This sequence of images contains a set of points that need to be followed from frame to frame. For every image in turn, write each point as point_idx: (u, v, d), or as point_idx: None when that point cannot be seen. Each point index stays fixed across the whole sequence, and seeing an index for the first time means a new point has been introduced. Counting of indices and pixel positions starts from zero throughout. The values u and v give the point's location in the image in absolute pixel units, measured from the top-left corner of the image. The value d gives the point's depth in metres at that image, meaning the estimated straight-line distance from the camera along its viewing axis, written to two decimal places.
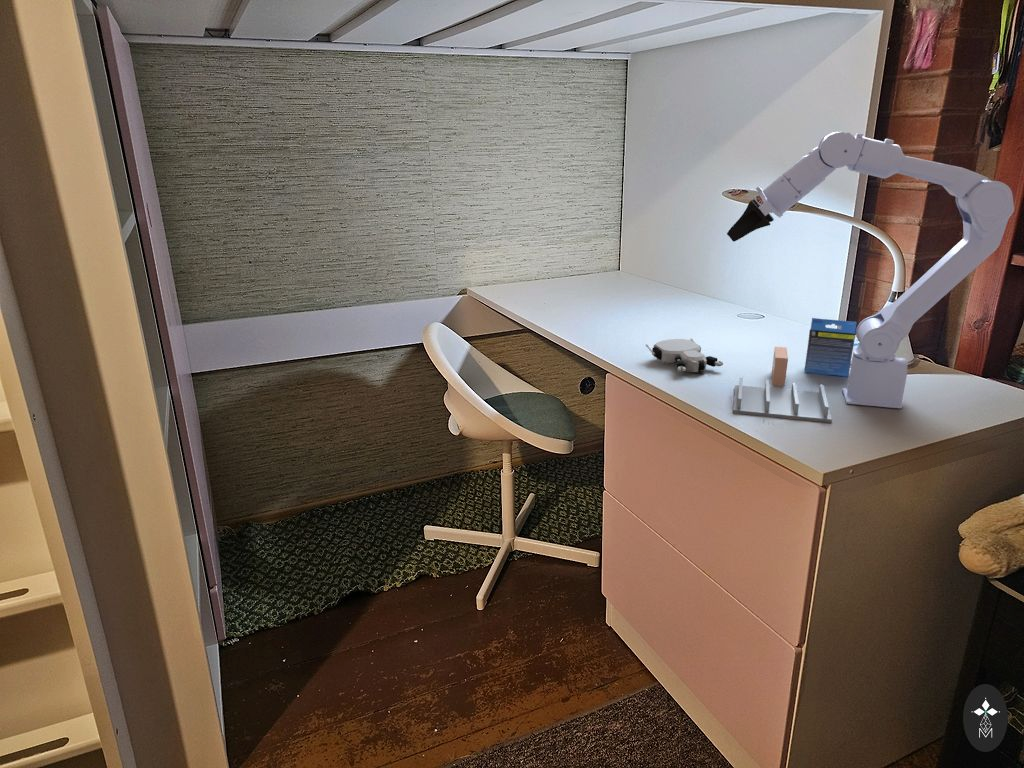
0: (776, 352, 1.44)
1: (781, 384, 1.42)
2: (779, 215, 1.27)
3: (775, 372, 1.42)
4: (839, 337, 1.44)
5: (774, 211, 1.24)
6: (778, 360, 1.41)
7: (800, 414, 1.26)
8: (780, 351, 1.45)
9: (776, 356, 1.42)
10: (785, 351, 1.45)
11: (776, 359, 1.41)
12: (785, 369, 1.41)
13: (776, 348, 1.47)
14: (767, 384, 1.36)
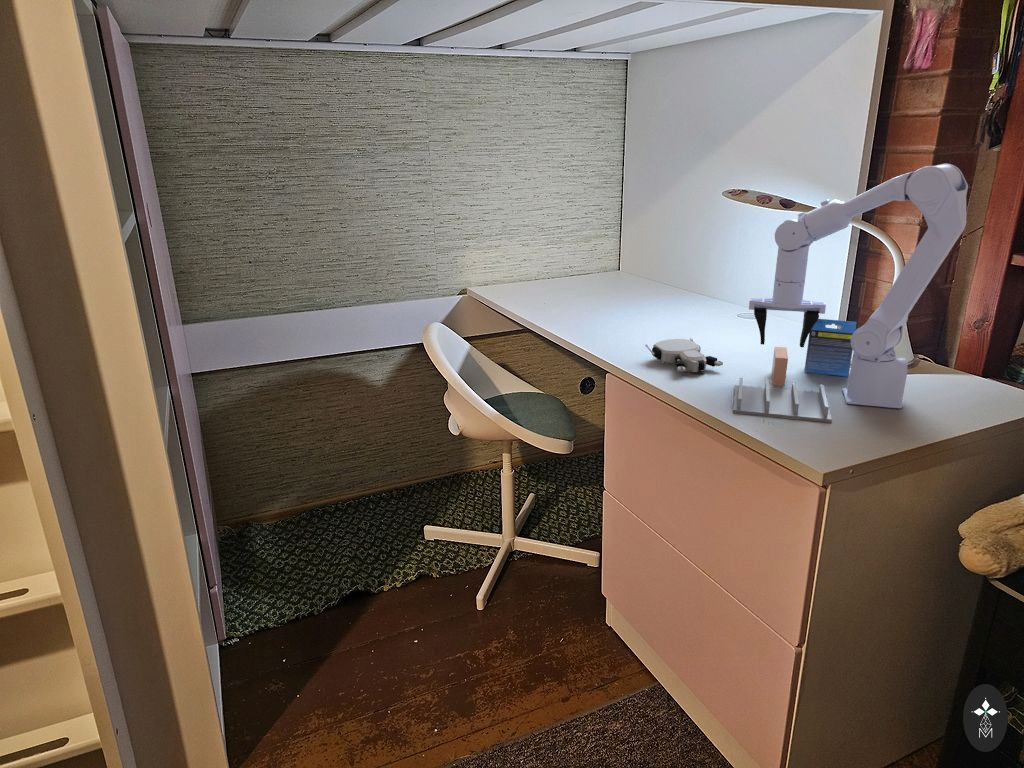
0: (776, 352, 1.44)
1: (781, 384, 1.42)
2: (778, 306, 1.39)
3: (775, 372, 1.42)
4: (839, 337, 1.44)
5: (761, 303, 1.41)
6: (778, 360, 1.41)
7: (800, 414, 1.26)
8: (780, 351, 1.45)
9: (776, 356, 1.42)
10: (785, 351, 1.45)
11: (776, 359, 1.41)
12: (785, 369, 1.41)
13: (776, 348, 1.47)
14: (767, 384, 1.36)
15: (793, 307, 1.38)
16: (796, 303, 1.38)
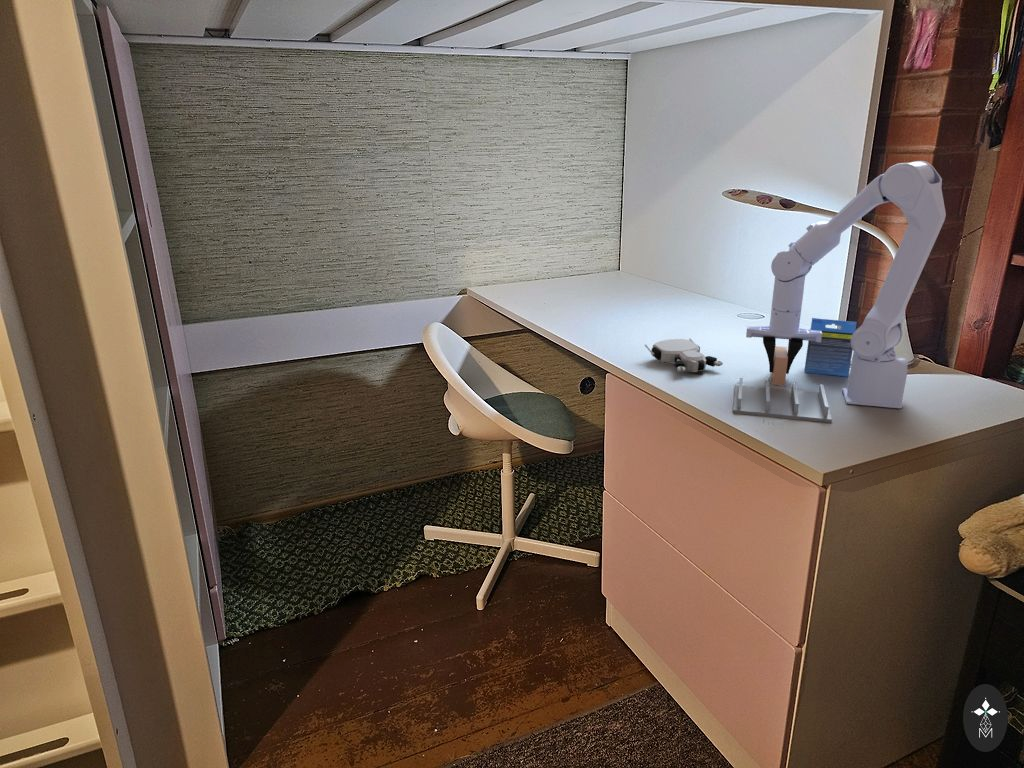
0: (776, 352, 1.44)
1: (781, 384, 1.42)
2: (775, 334, 1.41)
3: (775, 372, 1.42)
4: (839, 337, 1.44)
5: (758, 331, 1.43)
6: (778, 360, 1.41)
7: (800, 414, 1.26)
8: (780, 351, 1.45)
9: (776, 356, 1.42)
10: (785, 351, 1.45)
11: (776, 359, 1.41)
12: (785, 369, 1.41)
13: (776, 348, 1.47)
14: (767, 384, 1.36)
15: (790, 336, 1.40)
16: (793, 332, 1.40)
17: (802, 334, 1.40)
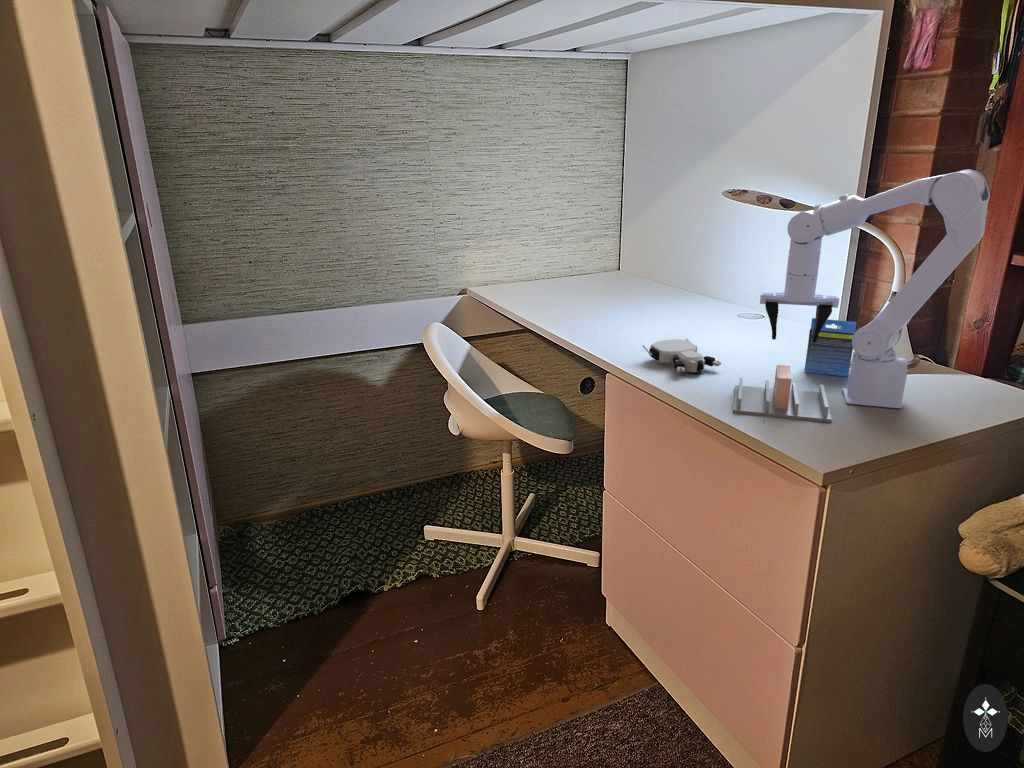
0: (779, 372, 1.31)
1: (784, 407, 1.29)
2: (790, 300, 1.36)
3: (777, 394, 1.28)
4: (839, 337, 1.44)
5: (772, 297, 1.38)
6: (780, 381, 1.27)
7: (800, 414, 1.26)
8: (782, 370, 1.31)
9: (778, 376, 1.28)
10: (788, 370, 1.31)
11: (778, 380, 1.28)
12: (788, 391, 1.28)
13: (778, 367, 1.33)
14: (767, 384, 1.36)
15: (806, 301, 1.35)
16: (809, 297, 1.35)
17: (819, 299, 1.35)
